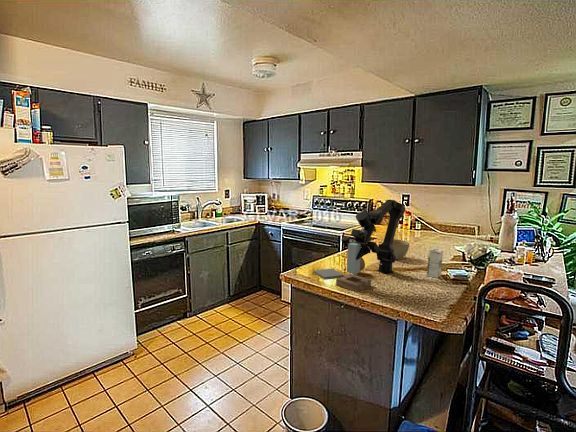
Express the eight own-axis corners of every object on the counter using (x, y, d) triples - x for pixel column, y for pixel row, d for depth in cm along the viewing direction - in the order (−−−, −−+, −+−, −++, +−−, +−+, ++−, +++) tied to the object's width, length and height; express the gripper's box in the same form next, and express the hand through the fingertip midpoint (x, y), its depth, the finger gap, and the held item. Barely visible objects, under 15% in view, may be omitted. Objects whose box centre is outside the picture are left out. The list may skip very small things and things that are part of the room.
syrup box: (429, 273, 180) (431, 248, 178) (441, 276, 177) (443, 249, 175) (426, 276, 176) (428, 249, 174) (438, 278, 172) (440, 251, 170)
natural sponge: (343, 272, 180) (344, 254, 178) (354, 269, 186) (355, 252, 184) (357, 276, 173) (358, 257, 172) (367, 273, 179) (368, 255, 177)
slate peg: (351, 270, 161) (353, 242, 159) (359, 272, 158) (361, 244, 156) (346, 272, 158) (348, 243, 156) (354, 274, 155) (355, 245, 153)
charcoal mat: (332, 270, 183) (332, 268, 182) (344, 276, 172) (344, 274, 172) (313, 272, 178) (313, 270, 178) (324, 279, 167) (324, 277, 167)
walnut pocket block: (349, 279, 167) (350, 274, 167) (370, 285, 159) (371, 279, 158) (336, 285, 158) (336, 279, 158) (357, 291, 150) (357, 285, 150)
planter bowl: (398, 262, 201) (399, 245, 200) (377, 256, 214) (378, 240, 213) (413, 259, 211) (414, 242, 209) (392, 253, 224) (393, 238, 222)
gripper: (344, 220, 164) (329, 245, 158) (377, 225, 151) (363, 252, 145) (352, 234, 171) (338, 258, 165) (385, 239, 158) (371, 266, 152)
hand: (352, 258), depth 156 cm, fingers closed on slate peg, 4 cm apart
